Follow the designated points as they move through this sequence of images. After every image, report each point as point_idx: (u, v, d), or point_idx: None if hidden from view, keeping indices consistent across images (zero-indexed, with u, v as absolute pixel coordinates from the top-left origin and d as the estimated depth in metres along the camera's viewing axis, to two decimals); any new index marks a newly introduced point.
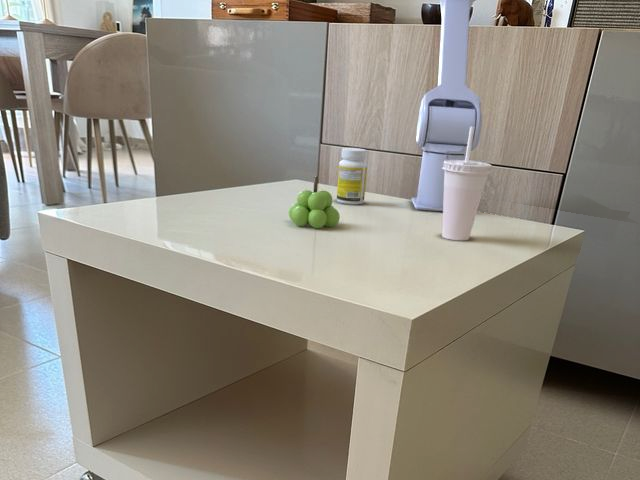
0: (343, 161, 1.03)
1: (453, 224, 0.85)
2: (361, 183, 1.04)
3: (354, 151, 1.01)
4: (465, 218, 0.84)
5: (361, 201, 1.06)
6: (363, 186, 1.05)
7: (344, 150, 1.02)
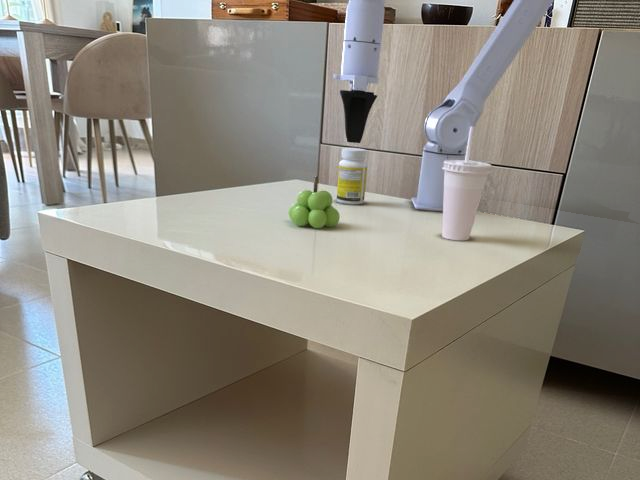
0: (343, 161, 1.03)
1: (453, 224, 0.85)
2: (361, 183, 1.04)
3: (354, 151, 1.01)
4: (465, 218, 0.84)
5: (361, 201, 1.06)
6: (363, 186, 1.05)
7: (344, 150, 1.02)
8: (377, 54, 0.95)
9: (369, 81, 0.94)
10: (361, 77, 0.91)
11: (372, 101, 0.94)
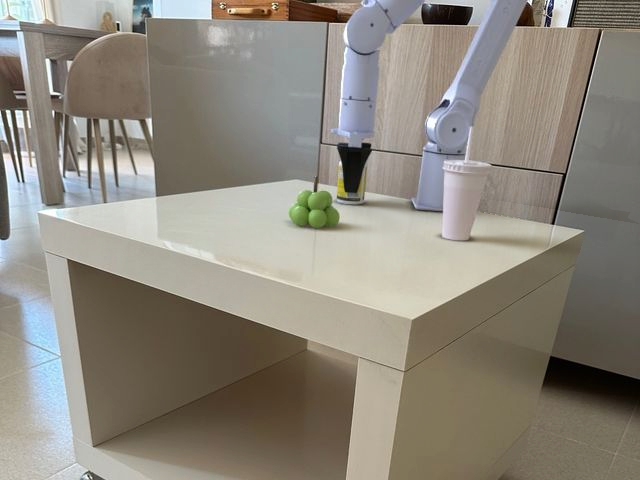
0: None
1: (453, 224, 0.85)
2: (361, 183, 1.04)
3: None
4: (465, 218, 0.84)
5: (361, 201, 1.06)
6: (363, 186, 1.05)
7: None
8: (372, 111, 0.99)
9: (364, 137, 0.98)
10: (356, 135, 0.95)
11: (367, 155, 0.99)
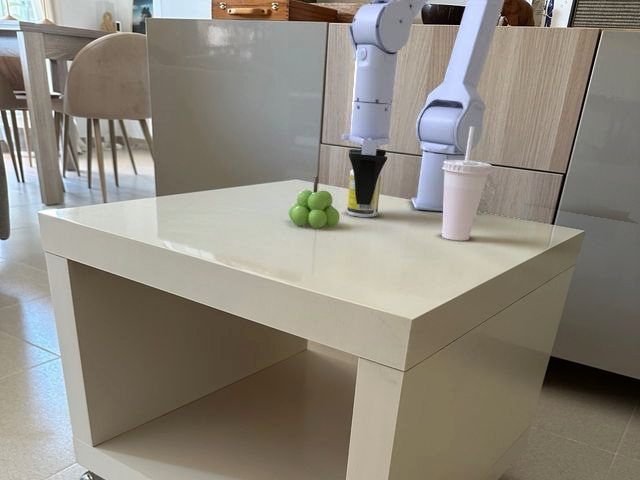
0: None
1: (453, 224, 0.85)
2: (375, 194, 0.95)
3: None
4: (465, 218, 0.84)
5: (374, 213, 0.96)
6: (377, 197, 0.95)
7: None
8: (388, 114, 0.90)
9: (379, 144, 0.88)
10: (370, 141, 0.86)
11: (382, 164, 0.90)
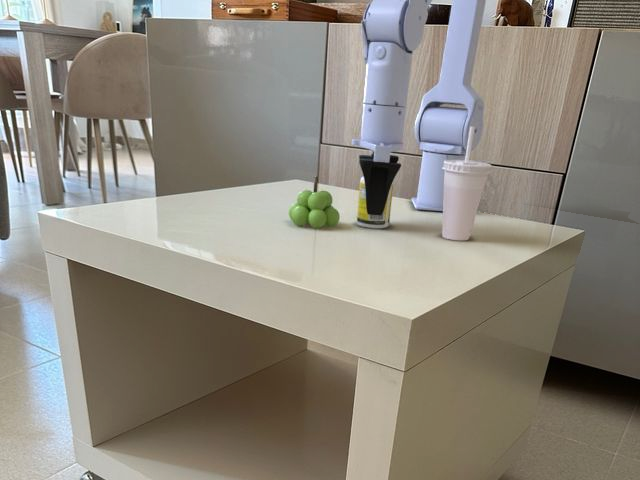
0: None
1: (453, 224, 0.85)
2: (387, 203, 0.88)
3: None
4: (465, 218, 0.84)
5: (386, 224, 0.89)
6: (389, 207, 0.89)
7: None
8: (402, 118, 0.83)
9: (392, 150, 0.81)
10: (383, 147, 0.79)
11: (395, 171, 0.83)
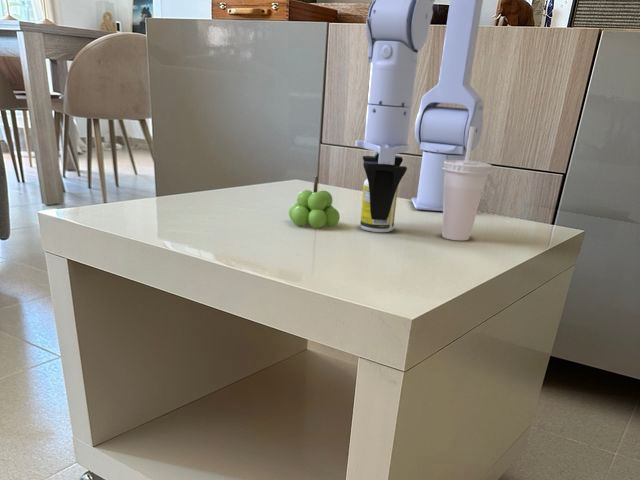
0: None
1: (453, 224, 0.85)
2: (391, 207, 0.86)
3: None
4: (465, 218, 0.84)
5: (390, 228, 0.87)
6: (393, 210, 0.86)
7: None
8: (407, 119, 0.80)
9: (397, 152, 0.79)
10: (388, 149, 0.77)
11: (401, 175, 0.80)
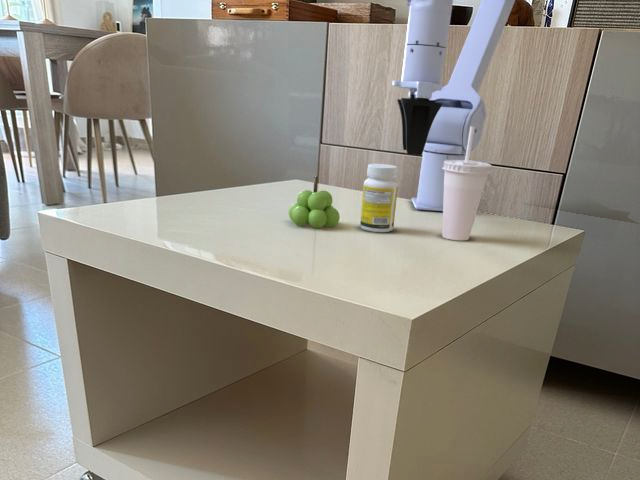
0: (369, 180, 0.85)
1: (453, 224, 0.85)
2: (391, 206, 0.86)
3: (383, 168, 0.83)
4: (465, 218, 0.84)
5: (390, 228, 0.87)
6: (393, 210, 0.86)
7: (371, 167, 0.84)
8: (442, 59, 0.87)
9: (434, 88, 0.85)
10: (426, 84, 0.83)
11: (437, 110, 0.86)
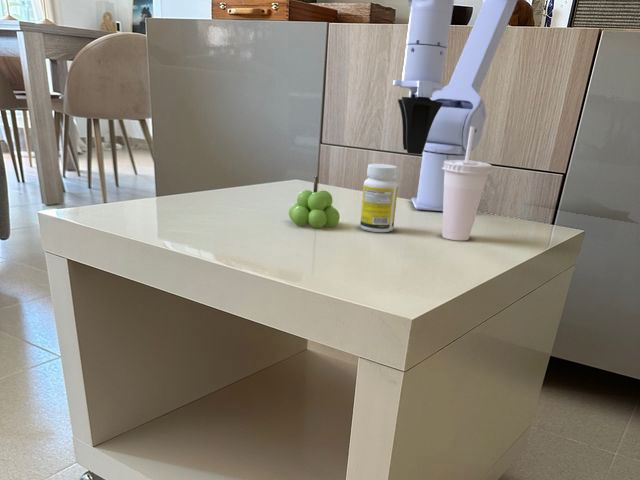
0: (369, 180, 0.85)
1: (453, 224, 0.85)
2: (391, 206, 0.86)
3: (383, 168, 0.83)
4: (465, 218, 0.84)
5: (390, 228, 0.87)
6: (393, 210, 0.86)
7: (371, 167, 0.84)
8: (443, 59, 0.87)
9: (434, 87, 0.86)
10: (427, 82, 0.83)
11: (437, 109, 0.86)
